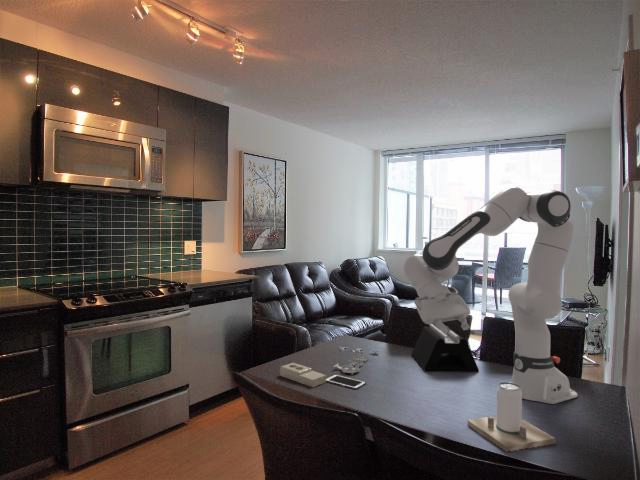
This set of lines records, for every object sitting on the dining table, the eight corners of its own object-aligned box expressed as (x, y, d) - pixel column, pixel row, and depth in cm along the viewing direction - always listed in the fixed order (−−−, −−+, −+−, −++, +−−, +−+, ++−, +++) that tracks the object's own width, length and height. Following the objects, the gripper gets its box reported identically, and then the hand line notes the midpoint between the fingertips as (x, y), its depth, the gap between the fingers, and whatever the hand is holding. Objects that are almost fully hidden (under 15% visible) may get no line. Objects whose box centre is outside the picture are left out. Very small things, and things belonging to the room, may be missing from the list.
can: (496, 430, 117) (497, 388, 117) (496, 420, 123) (497, 380, 123) (522, 435, 114) (522, 391, 114) (521, 424, 120) (521, 383, 120)
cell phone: (334, 376, 166) (334, 374, 166) (367, 384, 157) (367, 382, 157) (323, 382, 159) (323, 379, 159) (356, 391, 151) (356, 388, 151)
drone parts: (304, 369, 176) (303, 362, 176) (338, 349, 207) (337, 343, 207) (355, 376, 165) (355, 368, 165) (383, 354, 197) (383, 347, 197)
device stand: (459, 356, 194) (460, 324, 194) (478, 372, 171) (479, 336, 171) (411, 355, 194) (411, 323, 193) (424, 372, 171) (424, 335, 171)
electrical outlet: (313, 377, 153) (280, 366, 165) (313, 388, 153) (279, 376, 165) (326, 372, 158) (293, 362, 170) (326, 383, 158) (293, 372, 170)
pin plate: (511, 418, 129) (512, 405, 129) (555, 443, 113) (555, 429, 113) (467, 424, 124) (467, 411, 124) (506, 452, 109) (506, 437, 109)
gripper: (417, 292, 134) (440, 329, 126) (459, 288, 145) (483, 321, 137) (407, 304, 138) (429, 340, 130) (448, 299, 149) (471, 332, 141)
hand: (457, 330), depth 134 cm, fingers open, 8 cm apart
